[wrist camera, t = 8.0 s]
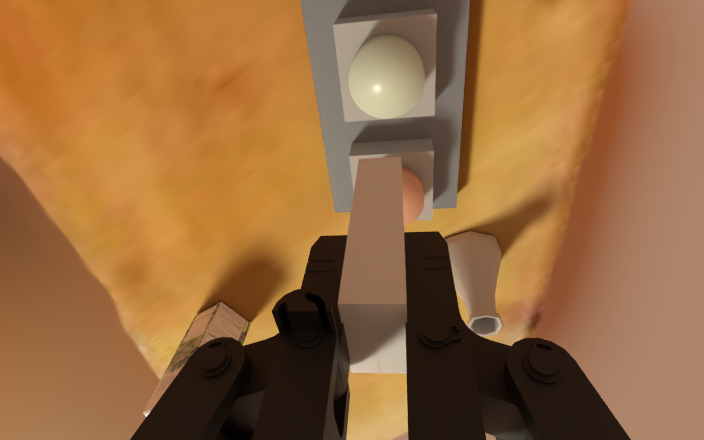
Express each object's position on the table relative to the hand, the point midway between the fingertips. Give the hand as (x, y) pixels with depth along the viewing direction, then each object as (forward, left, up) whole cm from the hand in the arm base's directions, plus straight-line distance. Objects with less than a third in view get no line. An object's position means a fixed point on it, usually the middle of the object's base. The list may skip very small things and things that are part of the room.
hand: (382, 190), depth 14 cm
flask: (+22, +8, -22) cm, 32 cm away
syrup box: (+33, -25, -21) cm, 47 cm away
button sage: (0, 0, -19) cm, 19 cm away
